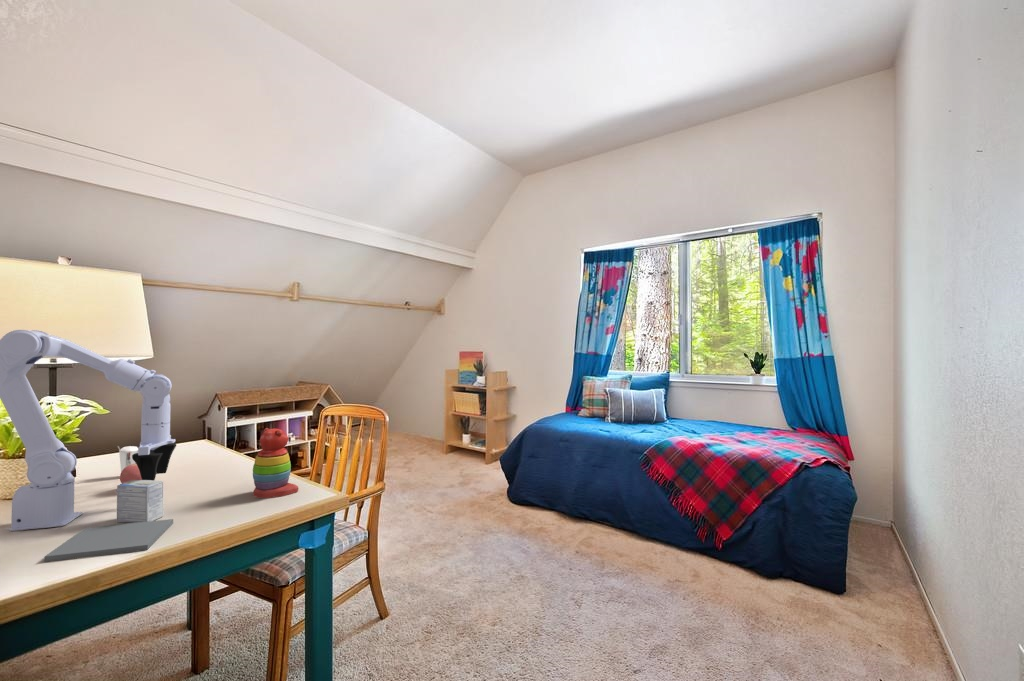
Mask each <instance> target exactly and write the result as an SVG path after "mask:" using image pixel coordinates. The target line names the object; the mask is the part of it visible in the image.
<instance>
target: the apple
mask: <svg viewBox="0 0 1024 681" xmlns="http://www.w3.org/2000/svg"><path fill="white" fill-rule="evenodd" d="M131 480H142V478H141V474H140V471H139V468H138V466H137V464H136V463H135V464H131V465H129V466H127V467H125V468H124V469H123V470H122V472H121V471H120V474H119V481H120V483H121V484H122V483H125V482H128V481H131Z"/></svg>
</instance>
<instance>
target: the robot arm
mask: <svg viewBox="0 0 1024 681" xmlns="http://www.w3.org/2000/svg"><path fill="white" fill-rule="evenodd" d="M45 357H47V358H48V357H55V358H58V357H60V358H65V359H68V360H71V361H73V362H77V363H79V364H81V365H84V366H87V367H89V368H91V369H94V370H97V371H100V372H102V373H103V374H104V376H105V379H106V380H107V381H109V382H111V383H113V384H116V385H118V386H121V387H123V388H126V389H129V390H131V391H133V392H140V394H141V395H142V405H141V419H140V420H141V423H140V424H141V425H140V442H139V446H137V448H138V453H135V454H133V455H132V459H133V460H134V461H135V463H136V464H137V466H138V468H139V471H140V474H141V478H142V480H155V481H156V477H157V476H156V475H159V474H166V473H167V470H168V467H169V463H170V460H171V457H172V454H173V452H174V451H175V449H176V447H177V443H176V438H172V435H171V411H172V410H171V406H172V405H171V396H170V395H171V394H170V392H171V390H172V387H173V386H172V381H171V379H170V378H168V377H167V376H166V375H165V374H161V373H157V371H156V370H154V369H151V370H149V369H146V368H145V367H142V366H141V365H137V364H135V363H136V361H135V360H133V359H131V358H129V359H124V358H120V359H115V360H112V359H110V358H108V357H106V356H103V355H101V354H99V353H97V352H95V351H92V350H91V349H89V348H86V347H85V346H82V345H79V344H78V343H75V342H73V341H71V340H68V339H66V338H62V337H60V336H57V335H53V334H48V333H47V332H45V331H42V330H37V329H35V330H33V329H32V330H28V329H15V330H10V331H9V332H7V333H5V335H3V336H2V338H0V400H1V403H2V405H3V406H4V408H5V411H6V412H7V414H8V416H9V418H10V420H11V422H12V424H13V426H14V428H15V430H16V432H17V434H18V436H19V438H20V440H21V442H22V444H23V445H24V448H25V456H24V460H25V462H26V466H27V471H26V478H27V480H28V481H29V482H30V483H29V484H25V485H22V486H19V487H18V488H17V489H16V490H15V492H14V494H13V496H12V501H11V527H10V528H8V532H14V531H15V532H16V531H25V530H34V529H37V530H38V529H45V528H56V527H64V526H66V525H67V524H69V523H71V522H72V521H73V520H75V519H77V518H78V517H80V516H81V515H83V514H84V513H83V511H75V484H76V483H75V476H73V474H72V472H73V471H74V469H75V468H76V466H77V463H78V459H77V457H76V455H75V454H74V453H73V452H72V451H70V450H68V449H67V448H66V447H65V446H66V445H64V443H63V442H62V441H61V440H60V439H59V438H58V437H57V436H56V434H55V433H54V430H53V429H52V426H51V424H50V422H49V420H48V418H47V416H46V414H45V412H44V410H43V407H42V406H41V404H40V402H39V400H38V398H37V395H36V394H35V392H34V389H33V388H32V386H31V383H30V381H29V379H28V377H27V373H28V372H30V370H31V368H32V367H34V365H35V363H36V362H38V361H39V360H41V359H43V358H45Z"/></svg>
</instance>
